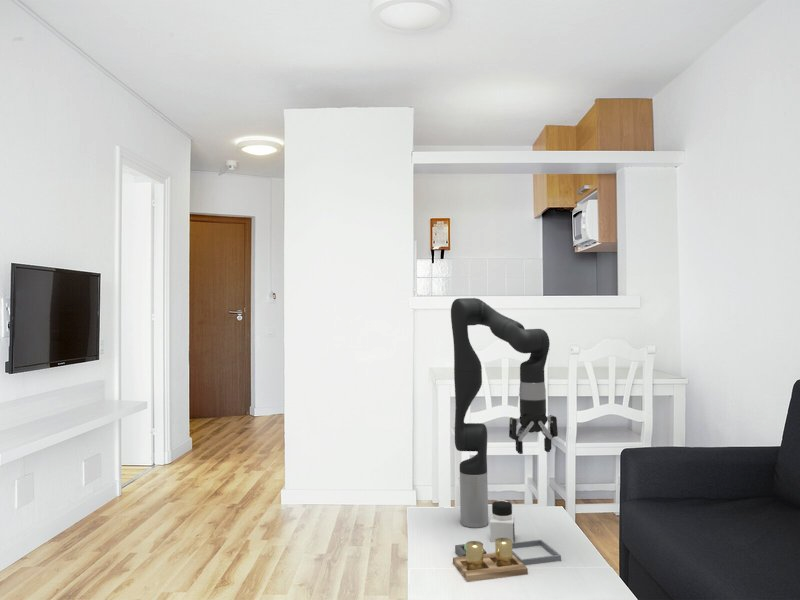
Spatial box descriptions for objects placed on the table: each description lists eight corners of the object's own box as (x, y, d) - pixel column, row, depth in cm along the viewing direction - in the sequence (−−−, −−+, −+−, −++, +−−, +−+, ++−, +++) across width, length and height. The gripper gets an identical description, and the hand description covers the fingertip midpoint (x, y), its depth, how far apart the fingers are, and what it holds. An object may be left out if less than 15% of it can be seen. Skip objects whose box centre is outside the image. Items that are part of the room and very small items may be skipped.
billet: (464, 567, 167) (463, 541, 167) (480, 565, 168) (479, 540, 168) (469, 574, 162) (469, 548, 162) (485, 572, 163) (485, 546, 163)
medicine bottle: (514, 546, 184) (513, 506, 184) (490, 544, 185) (489, 505, 185) (514, 537, 190) (513, 499, 191) (491, 536, 192) (490, 497, 192)
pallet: (453, 566, 170) (452, 557, 170) (509, 559, 174) (509, 550, 174) (467, 585, 158) (467, 575, 158) (527, 577, 162) (527, 568, 162)
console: (455, 555, 177) (455, 545, 177) (477, 552, 179) (477, 542, 179) (463, 565, 171) (463, 554, 171) (486, 562, 172) (486, 551, 172)
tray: (503, 552, 179) (503, 543, 179) (541, 547, 182) (541, 539, 182) (520, 569, 167) (520, 560, 167) (561, 564, 170) (561, 555, 170)
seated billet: (493, 564, 169) (492, 538, 169) (508, 562, 170) (508, 537, 170) (499, 571, 164) (499, 545, 164) (515, 569, 165) (514, 543, 165)
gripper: (514, 400, 173) (516, 457, 173) (561, 397, 176) (562, 453, 176) (504, 396, 180) (506, 451, 180) (549, 394, 183) (550, 447, 183)
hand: (533, 452), depth 178 cm, fingers open, 8 cm apart
